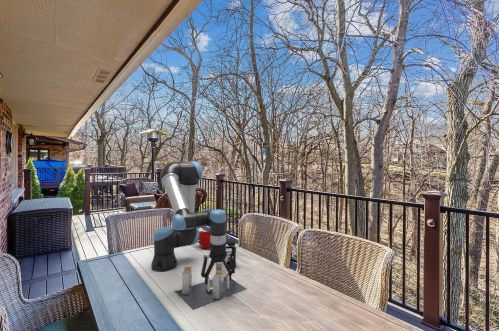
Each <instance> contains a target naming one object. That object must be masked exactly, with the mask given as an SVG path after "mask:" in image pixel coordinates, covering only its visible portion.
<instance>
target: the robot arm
mask: <svg viewBox="0 0 499 331" xmlns="http://www.w3.org/2000/svg"><path fill="white" fill-rule="evenodd" d="M201 180H203V168H202V166H201V164H200V163H199V162H198V161H194V160H193V161H192V160H183V161H182V160H181V161H180V160H179V161H177V160H175V161H171V162H169V163H167V164H165V166H164V167H163V168H162V170H161V172H160V181H161V182H160V183H161V185H162V186H164V189H165V192H166V194H167V196H168V200H169V202H170V206H171V208H172V211H173V215H172V217H171V224H172V226H162V227H160V228H157V229H156V230H155V231H154V233H153V258H152V261H151V265H150V266H151V270H152V271H154V272H168V271H172V270H174V269H176V268H177V267H178V260H177V259H178V258H177V256H176V255H175V249H176V248H182V247H189V246H194V245H196V244H197V243H198V242H197V241H199V240H198V239H199V233H200V228H204V227H209V231H210V243H211V244H210V249H209V254H207V255H206V254H204V255H203V256H202V257H203V263H202V267H201V271H200V276H201V278H204V282H205V284H206V285H207V290H208V292H210V280H211V278H210V276H209V275H211V272H212V269H213V267H214V266H215V265H216V263H218V262H223V264H224V266H225V268H226V269H227V273H226V281H227V288H228V289H229V281H231V279H232V276H233V274H235V273H236V268H234V264H233V260H232V256H233V254H232V253H231V252H230V251H229V253H226V251H227V249H226V246H227V244H226V243H225V242H226V239H227V232H226V231H227V214H226V213H227V212H226V211H225V210H223V209H220V208H219V209H209V208H206V209H203V210H202V211H196V212H195V207H196V186H198V185H199V181H201ZM226 256H228V258H229V261H230V264H229V265H228V264H226V262H225V260H224V259H225V257H226ZM209 259H211V260H210V262H209V265H208V261H209ZM207 265H208V266H207ZM228 266H231V270H229V268H228Z"/></svg>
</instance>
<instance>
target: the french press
mask: <svg viewBox="0 0 499 331" xmlns="http://www.w3.org/2000/svg"><path fill="white" fill-rule="evenodd" d="M230 233H233V231H232V230H231V229H228V230H227V229H226V234H227V235H228V238H226V242H225V243H226V253H229V252H231V253H232V254H233V256H232V260H233V264H234V269H236V268H237V260H236V259H237V253H236V252H237V247H236V242H237V239H234V238H230ZM230 249H231V251H230ZM227 250H228V251H227ZM225 258H227V266H228V268H229V270H231V266H230V261H229V258H228V256H226V257H225Z"/></svg>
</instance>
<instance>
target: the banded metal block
mask: <svg viewBox="0 0 499 331" xmlns="http://www.w3.org/2000/svg"><path fill="white" fill-rule="evenodd" d="M211 280H212V293H213V299H220V297H221V295H222V294H223V292H224V271H218V270H217V271H216V270H215V274H214V275H213V277H212V279H211Z"/></svg>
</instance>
